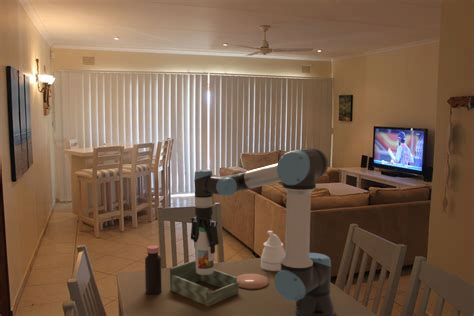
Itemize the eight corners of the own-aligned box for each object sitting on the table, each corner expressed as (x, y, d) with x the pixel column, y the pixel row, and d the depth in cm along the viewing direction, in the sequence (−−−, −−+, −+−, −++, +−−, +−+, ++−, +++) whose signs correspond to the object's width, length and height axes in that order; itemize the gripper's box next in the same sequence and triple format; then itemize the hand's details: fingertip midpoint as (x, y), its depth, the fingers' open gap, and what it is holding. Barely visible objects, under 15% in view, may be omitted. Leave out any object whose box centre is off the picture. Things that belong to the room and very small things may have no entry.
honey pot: (258, 269, 225) (258, 234, 224) (264, 261, 238) (264, 227, 236) (283, 272, 222) (284, 236, 220) (288, 263, 234) (289, 229, 232)
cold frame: (238, 293, 196) (238, 270, 195) (208, 306, 183) (208, 282, 182) (200, 279, 212) (200, 258, 211) (170, 290, 199) (170, 268, 198)
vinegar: (148, 296, 193) (147, 250, 191) (143, 290, 199) (142, 246, 196) (163, 292, 196) (163, 247, 194) (158, 287, 202) (157, 243, 200)
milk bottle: (192, 273, 195) (191, 227, 193) (202, 268, 202) (201, 224, 200) (207, 276, 191) (207, 230, 189) (217, 270, 198) (216, 225, 196)
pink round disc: (274, 282, 209) (274, 279, 208) (253, 291, 198) (253, 288, 197) (249, 274, 219) (249, 271, 219) (228, 282, 208) (228, 279, 208)
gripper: (227, 207, 189) (227, 261, 191) (194, 201, 203) (195, 251, 205) (214, 210, 184) (215, 265, 186) (181, 204, 198) (182, 255, 200)
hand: (204, 258), depth 196 cm, fingers closed on milk bottle, 8 cm apart
